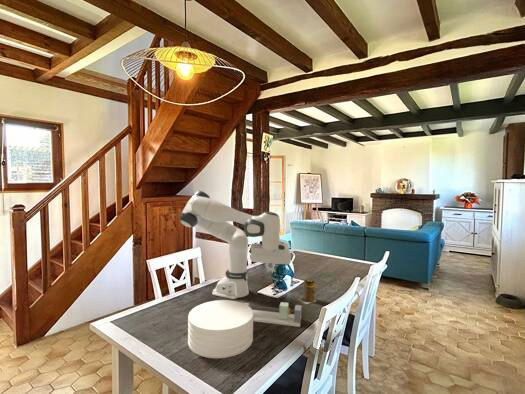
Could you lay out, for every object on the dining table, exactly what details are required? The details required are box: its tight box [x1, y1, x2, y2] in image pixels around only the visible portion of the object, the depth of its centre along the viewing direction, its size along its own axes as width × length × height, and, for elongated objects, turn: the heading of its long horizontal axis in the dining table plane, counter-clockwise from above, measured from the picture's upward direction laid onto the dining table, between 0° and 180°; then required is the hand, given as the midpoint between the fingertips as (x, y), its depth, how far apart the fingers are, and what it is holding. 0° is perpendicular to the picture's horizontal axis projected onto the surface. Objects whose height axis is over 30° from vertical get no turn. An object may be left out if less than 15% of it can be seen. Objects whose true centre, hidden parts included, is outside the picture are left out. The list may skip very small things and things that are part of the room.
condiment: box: [298, 278, 318, 305], centre depth 166 cm, size 7×8×12 cm
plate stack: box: [187, 299, 254, 359], centre depth 124 cm, size 28×28×12 cm
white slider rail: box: [243, 302, 302, 328], centre depth 143 cm, size 30×10×7 cm, turn 78°
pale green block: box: [278, 301, 290, 319], centre depth 142 cm, size 4×4×6 cm
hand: (270, 271), depth 142 cm, fingers closed
